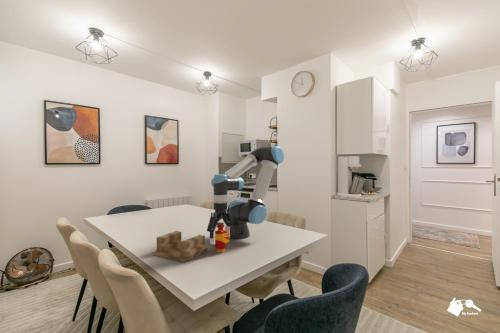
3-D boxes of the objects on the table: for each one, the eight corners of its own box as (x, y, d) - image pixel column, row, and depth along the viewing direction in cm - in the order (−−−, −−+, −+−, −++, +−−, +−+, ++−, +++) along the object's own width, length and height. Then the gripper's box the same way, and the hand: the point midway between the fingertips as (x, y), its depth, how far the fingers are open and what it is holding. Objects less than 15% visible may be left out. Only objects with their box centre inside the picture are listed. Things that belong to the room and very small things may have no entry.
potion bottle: (207, 252, 128) (207, 224, 128) (217, 246, 137) (217, 220, 137) (225, 254, 124) (224, 226, 124) (233, 248, 134) (233, 221, 134)
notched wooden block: (178, 244, 141) (178, 230, 141) (207, 250, 130) (207, 235, 130) (153, 254, 125) (153, 238, 125) (183, 262, 114) (183, 244, 114)
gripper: (227, 199, 143) (227, 234, 143) (200, 204, 122) (199, 246, 121) (238, 199, 140) (238, 235, 140) (211, 205, 118) (211, 248, 118)
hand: (220, 240), depth 130 cm, fingers open, 13 cm apart
